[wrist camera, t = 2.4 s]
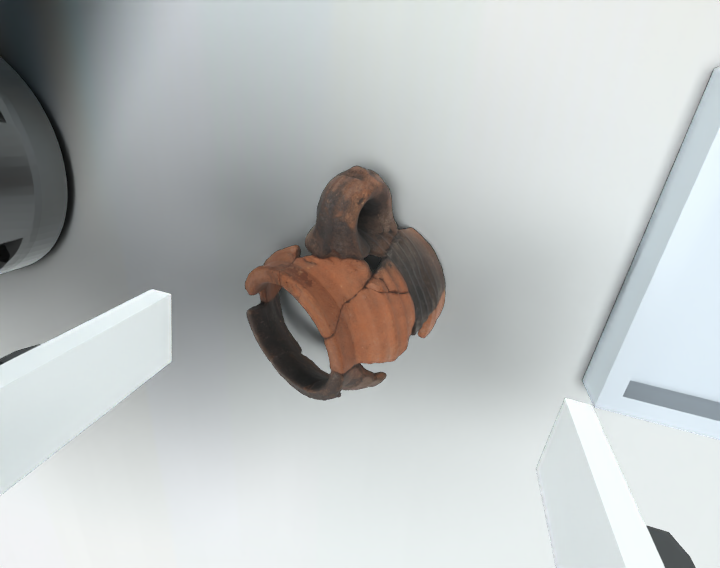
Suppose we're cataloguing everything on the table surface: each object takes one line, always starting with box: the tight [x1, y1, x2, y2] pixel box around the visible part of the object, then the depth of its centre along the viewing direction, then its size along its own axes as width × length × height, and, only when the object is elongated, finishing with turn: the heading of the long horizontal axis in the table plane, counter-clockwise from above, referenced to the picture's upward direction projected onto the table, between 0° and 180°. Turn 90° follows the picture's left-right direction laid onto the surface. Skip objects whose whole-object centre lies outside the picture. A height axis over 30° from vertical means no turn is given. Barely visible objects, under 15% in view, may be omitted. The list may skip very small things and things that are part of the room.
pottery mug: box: [245, 166, 445, 400], centre depth 22 cm, size 12×9×8 cm
